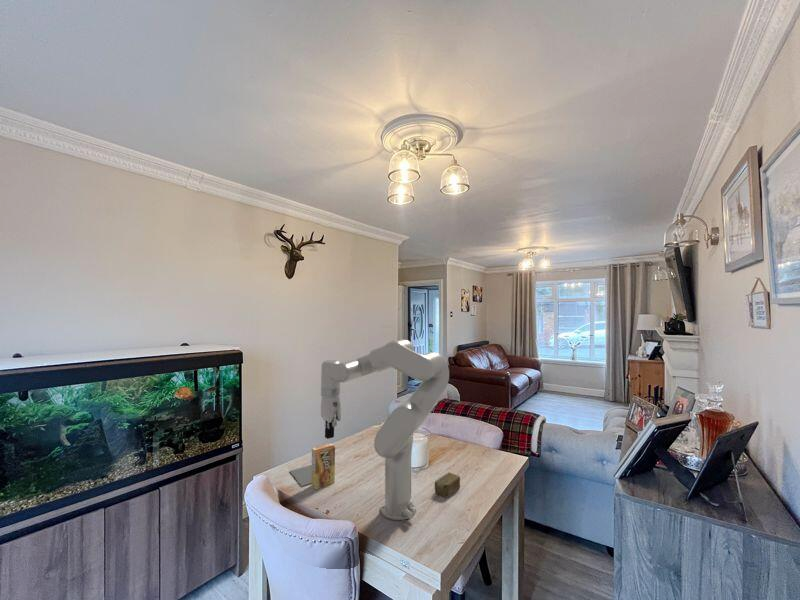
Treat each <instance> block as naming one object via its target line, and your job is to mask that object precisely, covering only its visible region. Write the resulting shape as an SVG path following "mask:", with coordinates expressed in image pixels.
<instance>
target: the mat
mask: <svg viewBox="0 0 800 600" xmlns="http://www.w3.org/2000/svg"><path fill="white" fill-rule="evenodd" d="M290 472H291V473H290ZM289 473H290V474H291V476H292V477H293V476H294V477H295V478H294V477H293V478H294V479H295V480H296V481H298V482H299V483H298V482H297V483H298V484H299V485H300V487H301V486H303V487H306V485H307V486H309V484H310V485H311V479H312V464H310V465H306V466H303V467H299V468H295V469H292V470H291V469H290V470H289Z"/></svg>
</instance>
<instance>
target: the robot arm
mask: <svg viewBox="0 0 800 600" xmlns="http://www.w3.org/2000/svg"><path fill="white" fill-rule="evenodd" d="M391 368H392V369H395V370H396V371H398V372H400V373H402V374H404V375H405V376H407V377H410V378H412V379H413V380H416V381H419V382H420V383H419V384H418V386H417V387H416V389H415V390H414V392H413V393H412V394H411V396H410V397H409V398H408V400H406V401H404V402H403V403H401V404H399V405H398V406H397V407H396V408H394V410H392V412H391V413H390V414H389V416H388V417H387V419H386V420H385V422H383V424H382V425H381V427H380V428H379V430H378V431H377V433H376V435H375V437H374V439H373V440H374V441H373V442H374V444H373V446H374V450H375V452H376V453H377V455H378V456H379V457H381V458H383V459H384V460H385V462H384V465H385V466H384V501H383V502H382V503H381V504H380V512H381V514H382V516H383V517H385V518H387V519H389V520H391V521H392V520H393V521H404V520H407V519H410V520H411V519H412V518H413V517H414V515H415V514H416V513H417V510H416V508H417V507H416V504H415V502H413V500H412V455H413V454H412V452H413V445H414V444H413V443H414V432H415V431H416V430H417V429H418V428H420V427H421V426H422V425H423V424H424V422H425V420H426V419H427V418H428V416H429V414H430V413H431V412H432V411H433V409H434V408H435V406H436V404H437V403H438V401H439V400H440V399H441V397H442V396H443V395H444V392H445V391H446V389H447V386H448V385H449V381H450V369H449V365H448V362H447V360H446V359H445V357H444V356H443V355H442V354H440V353H438V352H434V351H429V352H426V353H423V354H420V353H418V352H416V351H415V346H414V345H413V343H412V342H411V341H410V340H408V339H403V338H402V339H397V340H396V339H395V340H391V341H389V342H387V343H386V344H385V345H382V346H379V347H377V348H374V349H372V350H371V351H369V353H368V354H365V355H363V356H360V357H358V358H356V359H351V360H348V361H344V362H340V361H339V360H334V359H330V360H323V361H322V363H321V371H320V372H321V375H320V376H321V377H320V380H321V381H320V383H321V384H320V397H321V399H320V402H321V403H320V417H321V418H322V419H323V421H324V437H325V438H326V439H332V438H334V437H335V427H337V425H338V423H337V422H341V420H342V410H341V409H342V408H341V398H340V396H341V383H347V382H350V381H352V380H355V379H358V378H362V377H364V376H367V375H370V374H372V373H376V372H377V373H379V372H383V371H386V370H388V369H391Z"/></svg>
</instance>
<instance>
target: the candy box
mask: <svg viewBox="0 0 800 600" xmlns="http://www.w3.org/2000/svg"><path fill="white" fill-rule="evenodd" d="M335 463H336V446H335V444H332V443H331V442H330V443H326V444H324V445H320V446H317V447H316V446H315V447H313V448H311V465H312V479H311V484H310V485H311V487H313V489H315V490H317V489H319V488H324V487H326V486H329V485H331V484H334V483H335V475H336V473H335V472H336V471H335V470H336V467H335V465H336V464H335Z"/></svg>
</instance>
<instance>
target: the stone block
mask: <svg viewBox="0 0 800 600" xmlns="http://www.w3.org/2000/svg"><path fill="white" fill-rule="evenodd" d="M460 487H461V477H460V476H459V475H457V474H454V473H452V472H449V471H448V472H447V473H446V474H444V475H442V476H441V477H440V478H438V479H437V480H435V482H434V492H435V493H436V494H437V495H439V496H441V497H444V498H448V497H450V495H451V494H453V493H455V490H456V491H458V490H459V489H460Z"/></svg>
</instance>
